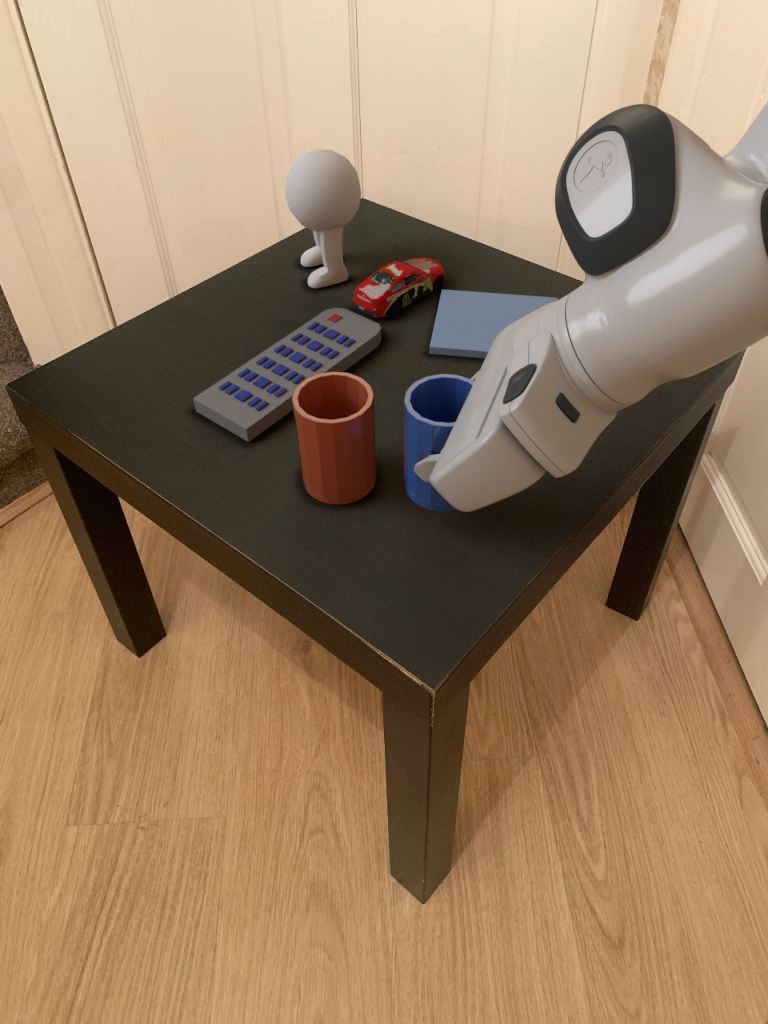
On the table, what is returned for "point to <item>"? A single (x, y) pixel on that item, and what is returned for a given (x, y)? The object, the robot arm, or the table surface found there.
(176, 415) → the table surface
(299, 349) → the remote control
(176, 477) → the table surface
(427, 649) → the table surface
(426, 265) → the race car
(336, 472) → the terracotta cup
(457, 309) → the blue mat
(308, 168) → the toy character
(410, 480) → the blue cup
